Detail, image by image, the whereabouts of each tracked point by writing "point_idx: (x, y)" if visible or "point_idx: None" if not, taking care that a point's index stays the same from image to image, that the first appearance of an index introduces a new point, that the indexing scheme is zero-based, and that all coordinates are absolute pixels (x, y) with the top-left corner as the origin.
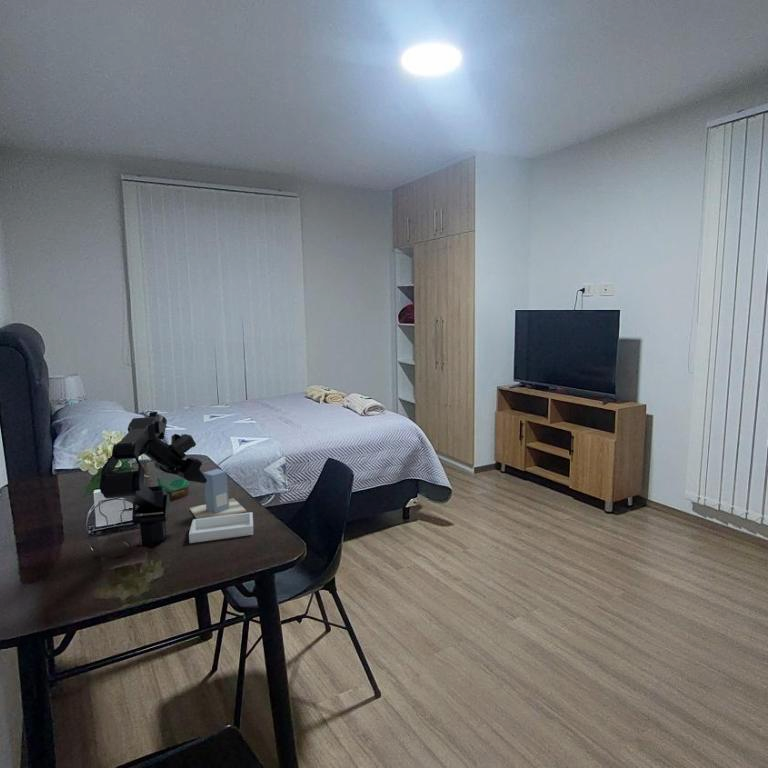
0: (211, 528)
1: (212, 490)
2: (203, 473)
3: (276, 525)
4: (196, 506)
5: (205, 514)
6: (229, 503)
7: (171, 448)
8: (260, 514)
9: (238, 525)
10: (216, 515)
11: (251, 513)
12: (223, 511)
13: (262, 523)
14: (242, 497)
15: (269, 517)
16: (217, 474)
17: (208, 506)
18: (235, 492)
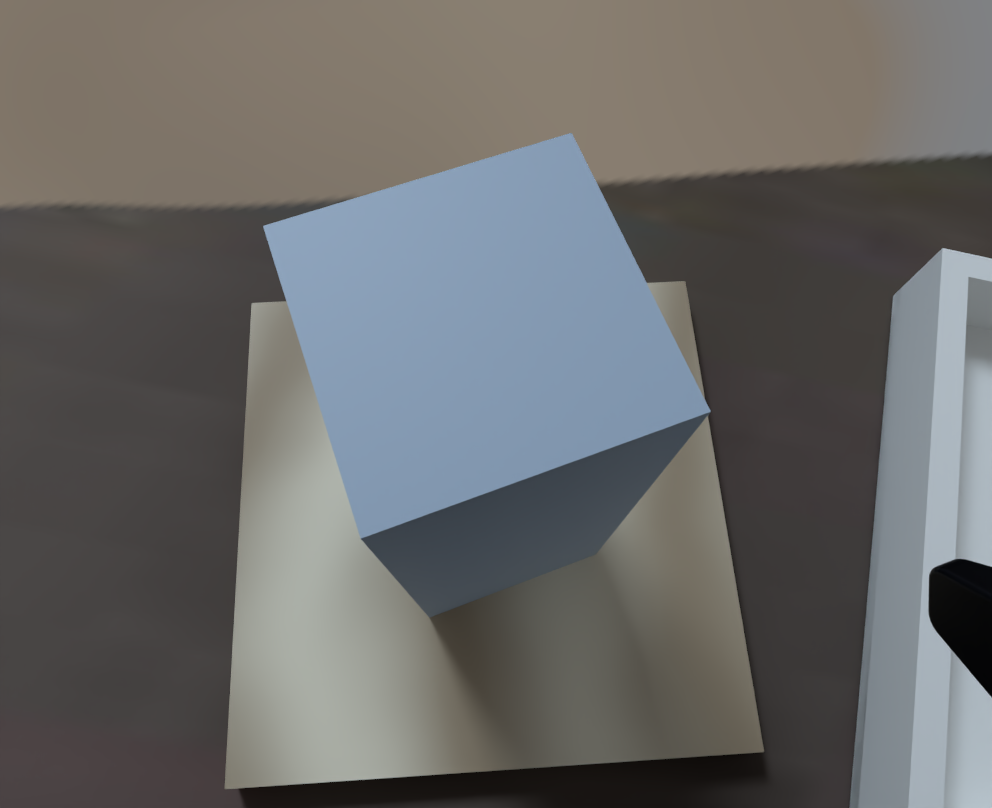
0: (957, 663)
1: (626, 499)
2: (375, 535)
3: None
4: (240, 701)
5: (570, 652)
6: None
7: None
8: (746, 210)
9: (976, 420)
10: (662, 552)
11: (977, 263)
12: None
13: (959, 245)
14: (217, 232)
15: (849, 171)
16: (653, 301)
17: (480, 592)
18: (23, 252)
